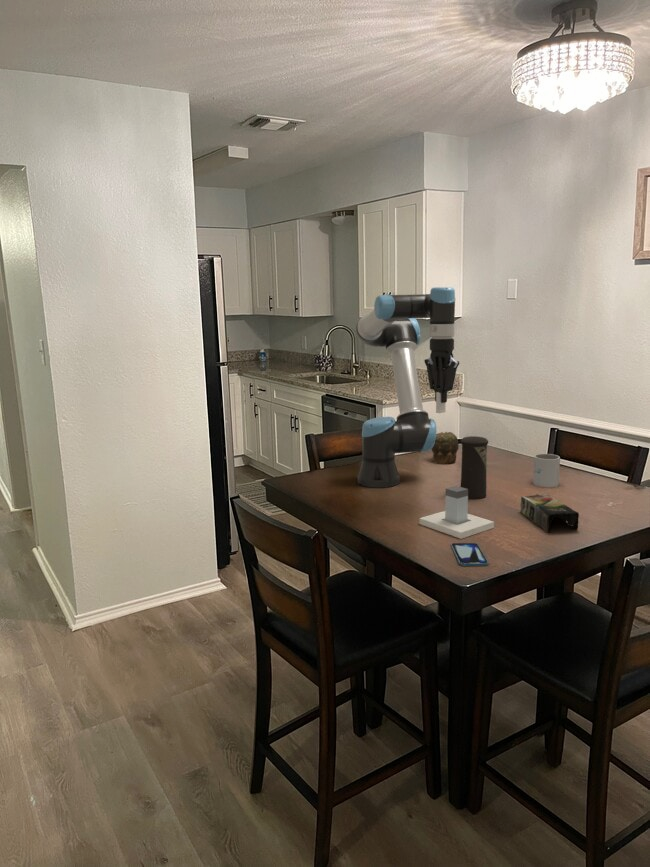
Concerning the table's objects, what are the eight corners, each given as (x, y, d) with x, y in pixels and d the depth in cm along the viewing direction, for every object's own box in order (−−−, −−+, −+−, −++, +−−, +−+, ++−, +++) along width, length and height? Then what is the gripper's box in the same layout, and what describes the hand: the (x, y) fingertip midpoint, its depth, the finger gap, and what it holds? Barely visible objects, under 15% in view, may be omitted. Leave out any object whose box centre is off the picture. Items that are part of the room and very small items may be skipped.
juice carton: (516, 511, 204) (517, 492, 203) (546, 510, 206) (548, 491, 204) (546, 534, 185) (547, 513, 184) (579, 532, 186) (581, 512, 185)
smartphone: (477, 542, 177) (489, 563, 163) (477, 546, 178) (489, 567, 163) (450, 542, 178) (459, 563, 163) (450, 546, 178) (459, 567, 163)
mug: (560, 487, 228) (561, 459, 226) (534, 487, 230) (535, 459, 228) (555, 478, 240) (556, 451, 238) (530, 477, 241) (531, 451, 239)
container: (487, 499, 216) (489, 440, 212) (459, 498, 218) (460, 439, 214) (486, 492, 224) (488, 434, 220) (459, 491, 226) (460, 434, 222)
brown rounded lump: (460, 459, 271) (461, 431, 268) (454, 465, 261) (455, 436, 259) (435, 457, 275) (435, 429, 273) (427, 463, 265) (428, 434, 263)
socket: (419, 524, 194) (419, 518, 194) (452, 514, 202) (452, 508, 202) (460, 538, 181) (461, 532, 181) (493, 527, 190) (494, 521, 189)
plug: (445, 524, 192) (445, 488, 190) (455, 521, 195) (456, 485, 193) (456, 528, 189) (457, 491, 186) (467, 525, 191) (468, 489, 189)
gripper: (418, 337, 208) (417, 411, 213) (449, 339, 198) (447, 416, 203) (435, 336, 213) (434, 408, 217) (466, 337, 202) (464, 413, 207)
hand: (440, 412), depth 210 cm, fingers closed
